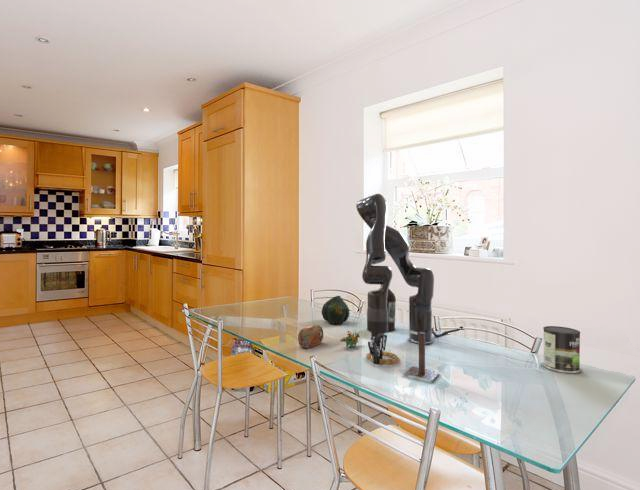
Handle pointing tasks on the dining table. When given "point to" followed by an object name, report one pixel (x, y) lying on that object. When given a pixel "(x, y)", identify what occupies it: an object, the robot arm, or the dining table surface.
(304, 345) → the reddish brown stone
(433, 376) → the rack
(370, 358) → the brass ring
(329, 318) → the squash
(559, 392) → the dining table surface
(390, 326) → the olive oil
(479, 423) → the dining table surface
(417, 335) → the robot arm
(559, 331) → the coffee can
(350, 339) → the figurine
